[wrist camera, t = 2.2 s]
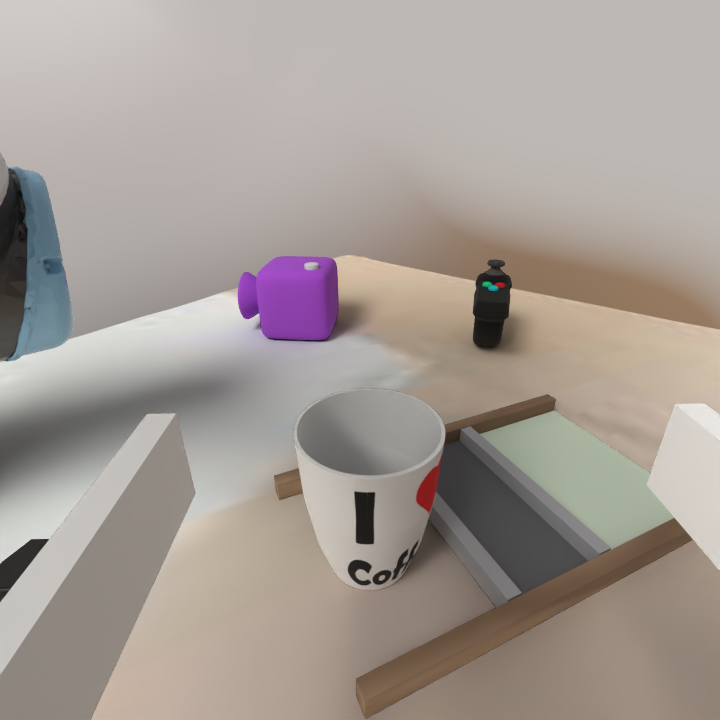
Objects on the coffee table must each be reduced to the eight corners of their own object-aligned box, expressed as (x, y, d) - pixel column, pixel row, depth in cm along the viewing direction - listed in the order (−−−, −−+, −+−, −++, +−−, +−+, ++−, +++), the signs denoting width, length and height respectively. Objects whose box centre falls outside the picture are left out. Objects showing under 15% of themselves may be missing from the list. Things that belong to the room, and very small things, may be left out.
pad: (468, 440, 38) (468, 437, 38) (553, 412, 42) (554, 410, 42) (605, 564, 27) (606, 561, 27) (705, 512, 31) (706, 509, 31)
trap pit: (388, 466, 35) (388, 451, 35) (468, 440, 38) (470, 426, 38) (503, 617, 24) (507, 599, 24) (605, 564, 27) (611, 547, 26)
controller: (503, 329, 60) (514, 257, 56) (502, 369, 50) (516, 285, 45) (471, 325, 62) (479, 255, 57) (464, 365, 51) (473, 282, 46)
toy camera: (247, 317, 65) (238, 250, 61) (338, 313, 66) (335, 247, 62) (235, 348, 56) (223, 271, 51) (341, 343, 57) (339, 268, 52)
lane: (276, 491, 33) (274, 475, 32) (544, 407, 43) (547, 394, 42) (365, 718, 20) (364, 701, 19) (721, 523, 30) (730, 507, 29)
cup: (340, 642, 23) (333, 502, 19) (287, 534, 29) (272, 410, 25) (459, 575, 27) (478, 443, 22) (388, 491, 33) (392, 375, 28)
